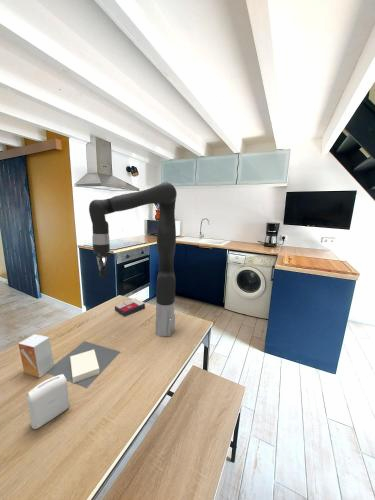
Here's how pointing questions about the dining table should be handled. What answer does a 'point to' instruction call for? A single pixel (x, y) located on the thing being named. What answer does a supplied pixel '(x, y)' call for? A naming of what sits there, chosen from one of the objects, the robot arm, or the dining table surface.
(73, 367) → the cream tile
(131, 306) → the red and black box
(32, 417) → the photo printer
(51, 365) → the small box
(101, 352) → the charcoal mat
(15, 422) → the dining table surface
